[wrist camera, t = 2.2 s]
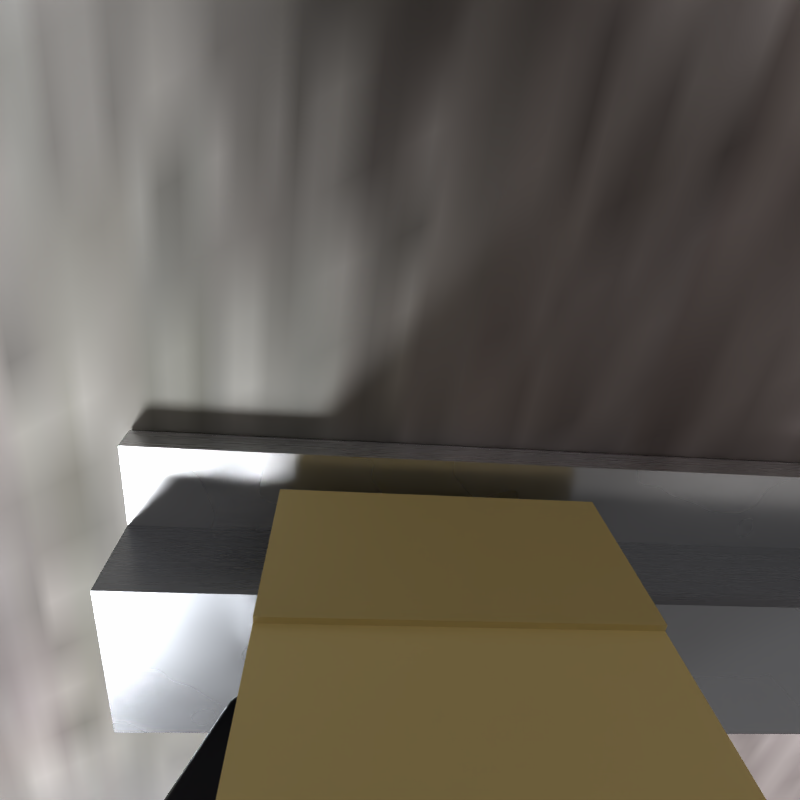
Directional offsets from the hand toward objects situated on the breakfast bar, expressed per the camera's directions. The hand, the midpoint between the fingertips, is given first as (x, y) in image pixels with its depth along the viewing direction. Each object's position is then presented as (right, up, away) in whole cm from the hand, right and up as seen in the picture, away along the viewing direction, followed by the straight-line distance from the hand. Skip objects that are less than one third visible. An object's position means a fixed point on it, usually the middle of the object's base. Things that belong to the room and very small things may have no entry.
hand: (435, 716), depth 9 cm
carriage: (0, +1, +3) cm, 3 cm away
